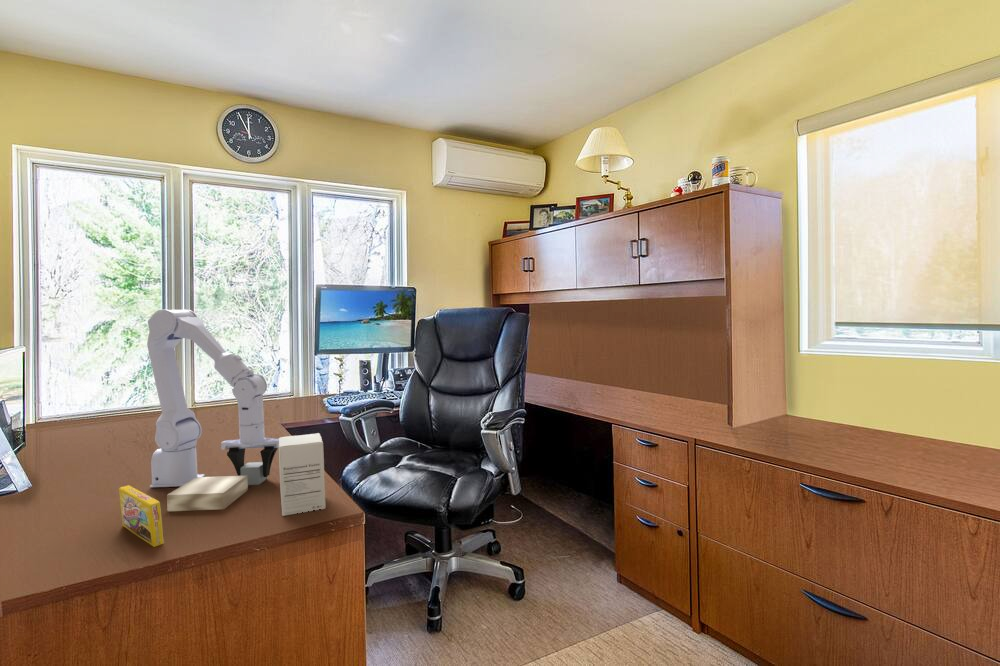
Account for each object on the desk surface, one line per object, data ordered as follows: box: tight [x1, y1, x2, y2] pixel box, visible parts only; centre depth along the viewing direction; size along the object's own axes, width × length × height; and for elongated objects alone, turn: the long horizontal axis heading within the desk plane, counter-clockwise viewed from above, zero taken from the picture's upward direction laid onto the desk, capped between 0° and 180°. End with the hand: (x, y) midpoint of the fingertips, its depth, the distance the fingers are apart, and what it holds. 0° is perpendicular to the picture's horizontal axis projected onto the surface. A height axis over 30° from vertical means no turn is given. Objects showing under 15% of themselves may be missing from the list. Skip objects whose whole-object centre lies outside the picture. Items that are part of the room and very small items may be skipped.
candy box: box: [118, 484, 165, 548], centre depth 100 cm, size 16×2×8 cm, turn 53°
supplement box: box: [278, 432, 327, 517], centre depth 113 cm, size 9×9×15 cm
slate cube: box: [240, 461, 268, 486], centre depth 131 cm, size 4×4×4 cm
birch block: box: [166, 475, 249, 512], centre depth 118 cm, size 12×12×4 cm
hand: (253, 476), depth 131 cm, fingers open, 6 cm apart
